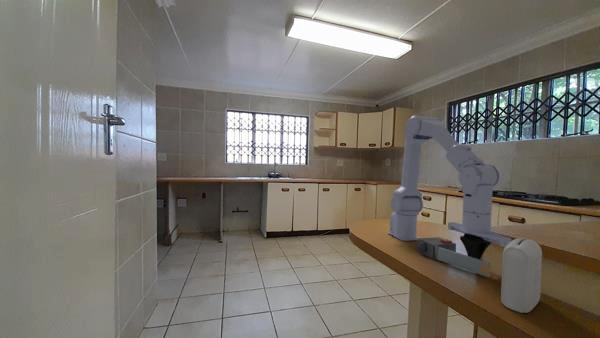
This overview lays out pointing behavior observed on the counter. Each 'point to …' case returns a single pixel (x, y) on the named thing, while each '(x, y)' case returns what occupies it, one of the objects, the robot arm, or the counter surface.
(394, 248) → the counter surface
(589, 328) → the counter surface
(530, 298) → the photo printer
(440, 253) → the side door
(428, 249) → the grey low box
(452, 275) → the counter surface
